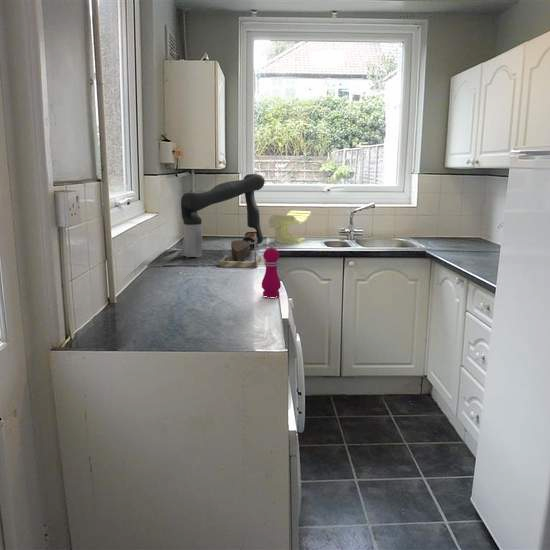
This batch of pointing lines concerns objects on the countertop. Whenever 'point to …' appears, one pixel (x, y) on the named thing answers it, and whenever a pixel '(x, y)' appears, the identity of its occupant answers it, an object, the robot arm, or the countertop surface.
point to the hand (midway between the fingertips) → (244, 247)
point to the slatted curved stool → (284, 222)
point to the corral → (227, 263)
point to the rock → (239, 250)
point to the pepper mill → (271, 273)
